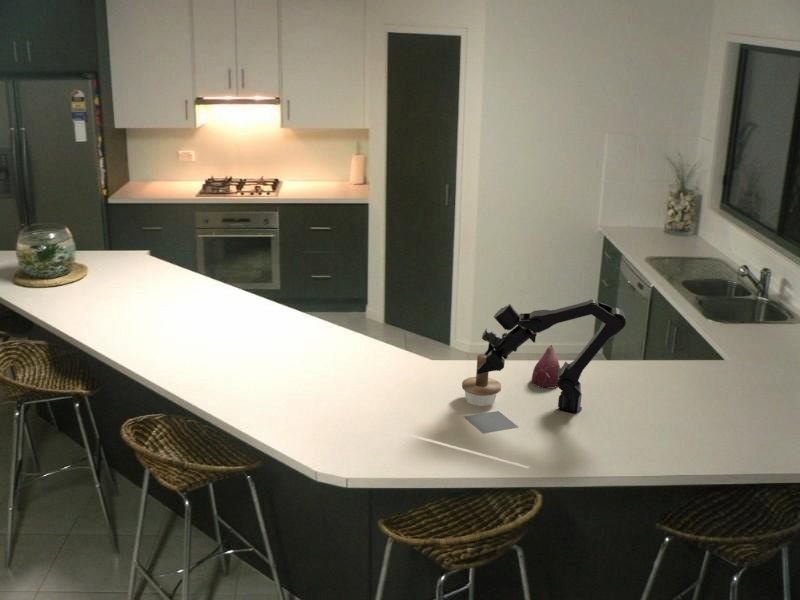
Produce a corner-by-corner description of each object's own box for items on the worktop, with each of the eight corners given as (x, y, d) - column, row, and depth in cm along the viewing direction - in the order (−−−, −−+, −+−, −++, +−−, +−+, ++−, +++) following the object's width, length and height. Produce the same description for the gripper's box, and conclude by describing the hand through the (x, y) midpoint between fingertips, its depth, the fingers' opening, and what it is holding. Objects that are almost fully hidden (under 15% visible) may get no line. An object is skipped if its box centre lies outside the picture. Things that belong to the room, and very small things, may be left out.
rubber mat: (498, 412, 330) (498, 410, 330) (518, 428, 319) (518, 427, 319) (463, 418, 325) (463, 416, 324) (482, 435, 313) (483, 433, 313)
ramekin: (497, 396, 343) (498, 382, 341) (496, 410, 332) (497, 395, 331) (464, 394, 344) (465, 379, 342) (462, 407, 333) (463, 392, 332)
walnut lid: (508, 391, 334) (510, 360, 330) (475, 398, 328) (477, 366, 324) (487, 377, 345) (489, 347, 341) (454, 383, 339) (456, 352, 335)
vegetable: (538, 384, 363) (540, 342, 362) (565, 387, 357) (567, 345, 357) (526, 386, 354) (529, 343, 353) (553, 389, 348) (556, 346, 348)
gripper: (499, 312, 337) (464, 340, 342) (496, 331, 320) (459, 360, 324) (521, 336, 339) (486, 364, 343) (519, 356, 321) (482, 385, 326)
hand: (478, 367), depth 334 cm, fingers open, 9 cm apart
